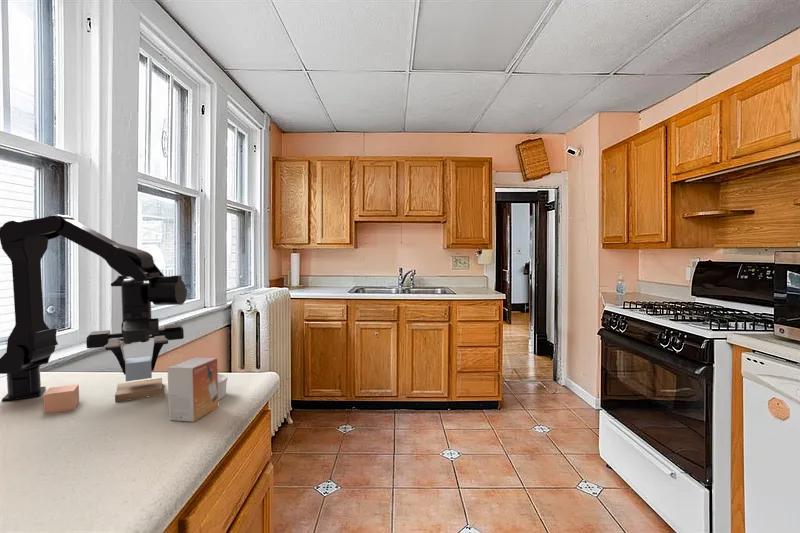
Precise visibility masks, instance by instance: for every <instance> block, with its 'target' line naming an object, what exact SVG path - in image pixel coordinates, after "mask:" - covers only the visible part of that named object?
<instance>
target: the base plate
mask: <svg viewBox="0 0 800 533" xmlns="http://www.w3.org/2000/svg"><path fill="white" fill-rule="evenodd" d="M163 393H164V392H163V378H162V377H159V378H154V379H153V378H150V379H143V380H136V381H129V382H123V383H118V384H117V387H116V390H115V395H114V399H115V401H114V402H115V403H117V402H124V400H125V401H130V400H129V399H131V400H137V398H138V399H143V397H144V398H148V397H147V396H151V397H155V395H157V396H162V395H161V394H163Z"/></svg>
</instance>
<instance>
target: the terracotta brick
mask: <svg viewBox="0 0 800 533" xmlns="http://www.w3.org/2000/svg"><path fill="white" fill-rule="evenodd" d="M79 384H80V383H75V384H68V385H60V386H53V387H52V386H51V387H49V388H48V389H47V390H46V391H44V392H45V393H43V411H44V413H43V414H48V413H57V412H61V411H62V412H64V411H68V410H69V411H70V410H75V409H76V408H77V406H78V405H79V403H80V386H79Z"/></svg>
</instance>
